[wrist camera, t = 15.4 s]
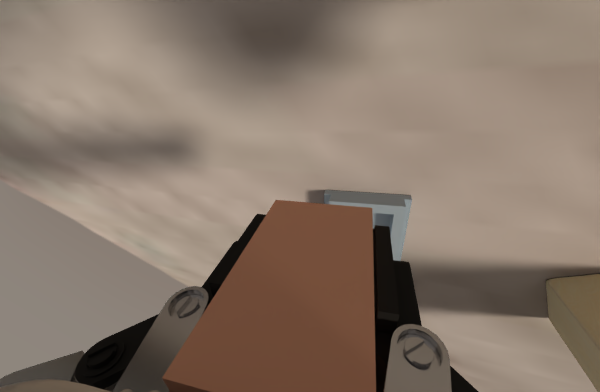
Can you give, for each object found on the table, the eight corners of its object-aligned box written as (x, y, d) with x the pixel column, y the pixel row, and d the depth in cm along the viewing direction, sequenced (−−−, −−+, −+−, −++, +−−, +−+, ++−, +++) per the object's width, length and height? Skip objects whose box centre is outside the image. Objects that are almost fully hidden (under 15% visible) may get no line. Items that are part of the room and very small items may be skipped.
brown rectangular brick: (275, 199, 11) (161, 378, 5) (372, 207, 10) (376, 438, 4) (283, 268, 13) (207, 455, 7) (364, 280, 12) (359, 507, 6)
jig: (325, 189, 28) (321, 202, 26) (410, 195, 26) (415, 210, 24) (325, 318, 39) (322, 336, 37) (385, 329, 37) (387, 349, 35)
